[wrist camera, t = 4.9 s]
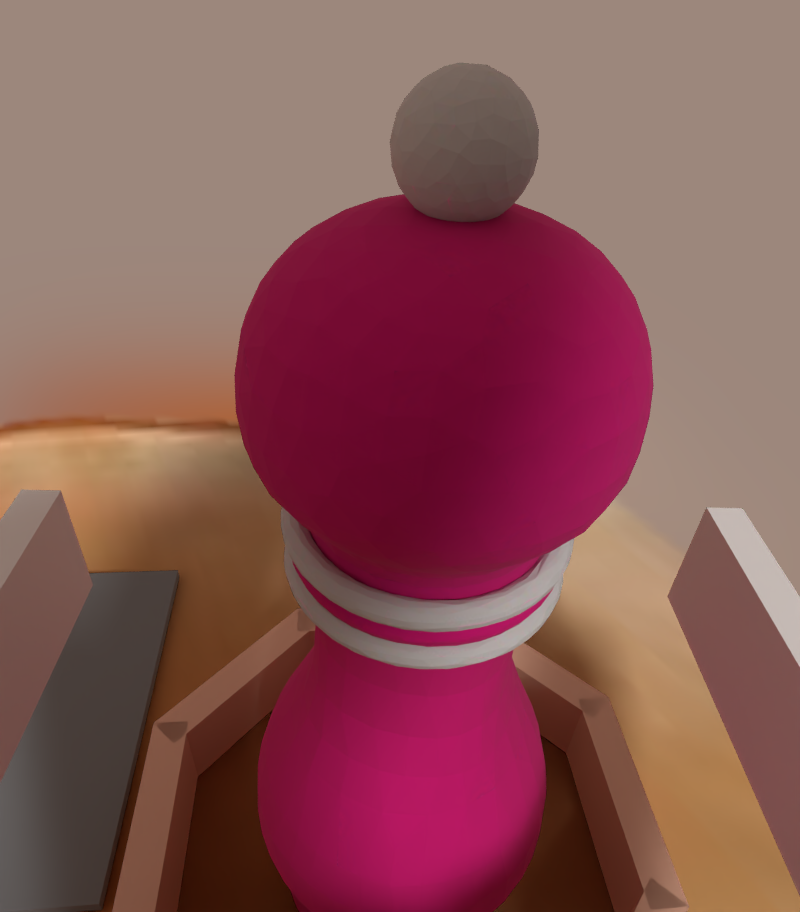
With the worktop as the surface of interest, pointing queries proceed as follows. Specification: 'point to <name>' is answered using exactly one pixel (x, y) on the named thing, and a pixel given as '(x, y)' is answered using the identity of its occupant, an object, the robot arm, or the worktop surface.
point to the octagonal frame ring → (255, 695)
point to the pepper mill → (430, 501)
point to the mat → (83, 749)
